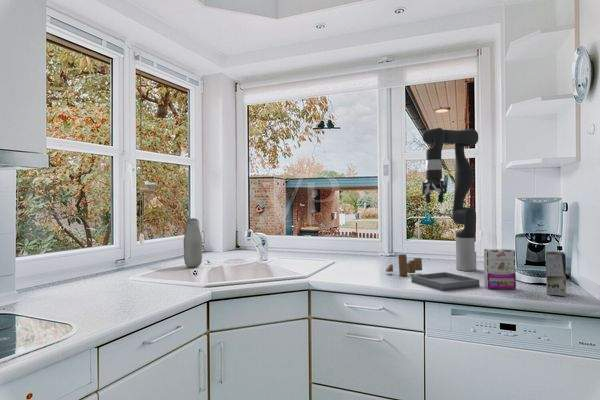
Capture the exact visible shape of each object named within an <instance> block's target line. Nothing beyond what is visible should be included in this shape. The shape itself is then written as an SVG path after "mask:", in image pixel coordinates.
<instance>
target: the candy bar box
mask: <svg viewBox="0 0 600 400" xmlns="http://www.w3.org/2000/svg"><path fill="white" fill-rule="evenodd" d="M483 266H484V267H483V270H484V271H483V272H484V273H483V275H484V288H486V289H487V290H504V291H505V290H506V291H507V290H517V282H516V281H517V279H516V278H517V277H516V274H517V272H516V250H514V249H511V248H492V249H491V248H489V249H487V248H483Z"/></svg>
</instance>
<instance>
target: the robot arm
mask: <svg viewBox="0 0 600 400" xmlns="http://www.w3.org/2000/svg"><path fill="white" fill-rule="evenodd" d="M421 137H422V138H421V139H422V141H423V143H425V144H428V145H432V144H433V145H432V147H430V148H429V147H428V148H427V149H426V152H425V153H426V155H425V156H426V157H425V159H426V160H425V179H426V180H427V181H423V182H422V193H421V194H422V195H425V203H426V204H430V203H431V194H432V192H433V191H435V192H436V193H437V194H438V195H437V203H439V204H441V203H442V204H443V202H444V195H445V194H447V193H448V191H447V189H448V188H447V181H446V180H442V179H443V162H442V151H443V147H444V144H447V145H449V144H450V145H451V144H453V145H454V158H455V159H454V195H453V203H452V204H453V205H452V215H451V216H452V221H453V223H454V224H455V225H462V226H463V225H464V226H463V229H462V230H458V231H456V233H455V251H456V252H455V257H456V258H455V268H456V270H458V271H463V272H465V271H467V272H471V271H476V270H477V251H476V249H475V248H476V245H475V241H476V240H475V238H476V237H475V236H476V235H475V234H476V230H477V212H476V210H475V209H474V208H473V207H470V206H469V207H464V201H465V198H466V196H467V195H468V193H469V191H470V190H471V188H472V186H473V184H474V169H473V166H471V164H470V162H469V161H468V159H467V157H466V154H465V148H467V147H473V146H475V145H477V144H478V142H479V132H478V131H477V130H476V129H474V128H465V129H461V130H457V129H456V130H454V129H444V128H442V127H434V128H429V129H426V130H424V131H423V133H422V135H421Z"/></svg>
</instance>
